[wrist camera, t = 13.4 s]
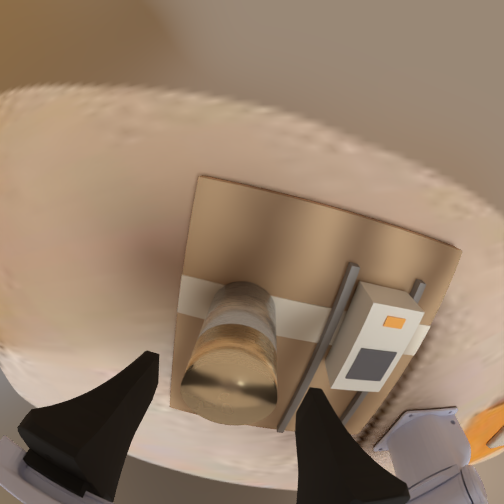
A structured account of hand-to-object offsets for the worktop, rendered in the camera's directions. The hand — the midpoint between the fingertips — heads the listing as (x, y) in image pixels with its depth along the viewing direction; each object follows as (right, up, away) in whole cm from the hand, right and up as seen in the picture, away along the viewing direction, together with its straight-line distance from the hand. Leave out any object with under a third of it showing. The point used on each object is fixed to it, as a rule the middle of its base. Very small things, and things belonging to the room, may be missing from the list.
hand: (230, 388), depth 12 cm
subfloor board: (+5, -1, +9) cm, 10 cm away
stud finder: (+9, +1, +7) cm, 12 cm away
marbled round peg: (0, +2, +7) cm, 7 cm away
